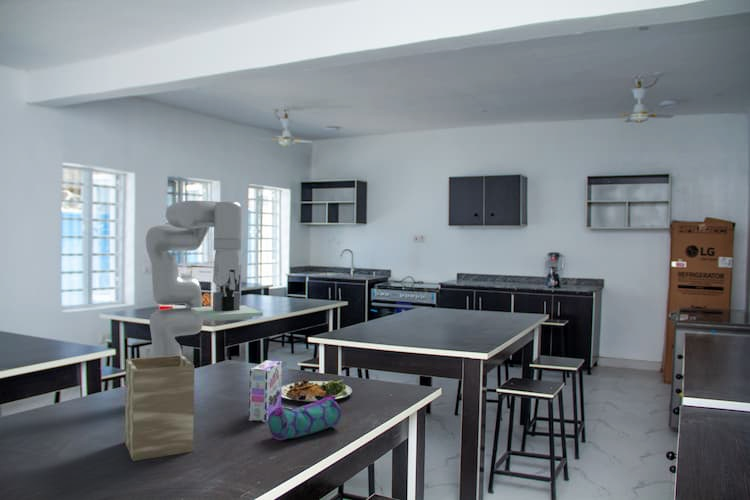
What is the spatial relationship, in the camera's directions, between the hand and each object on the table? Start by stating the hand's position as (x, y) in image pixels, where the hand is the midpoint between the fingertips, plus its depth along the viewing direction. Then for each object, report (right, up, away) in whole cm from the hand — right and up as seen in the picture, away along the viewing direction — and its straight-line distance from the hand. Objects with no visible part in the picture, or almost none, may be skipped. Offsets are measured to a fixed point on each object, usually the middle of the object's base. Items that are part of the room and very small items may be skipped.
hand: (226, 309), depth 167 cm
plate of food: (+20, -36, +46) cm, 62 cm away
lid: (0, -1, 0) cm, 1 cm away
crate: (-16, -36, -8) cm, 41 cm away
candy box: (+7, -36, +21) cm, 43 cm away
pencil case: (+22, -37, +6) cm, 44 cm away
